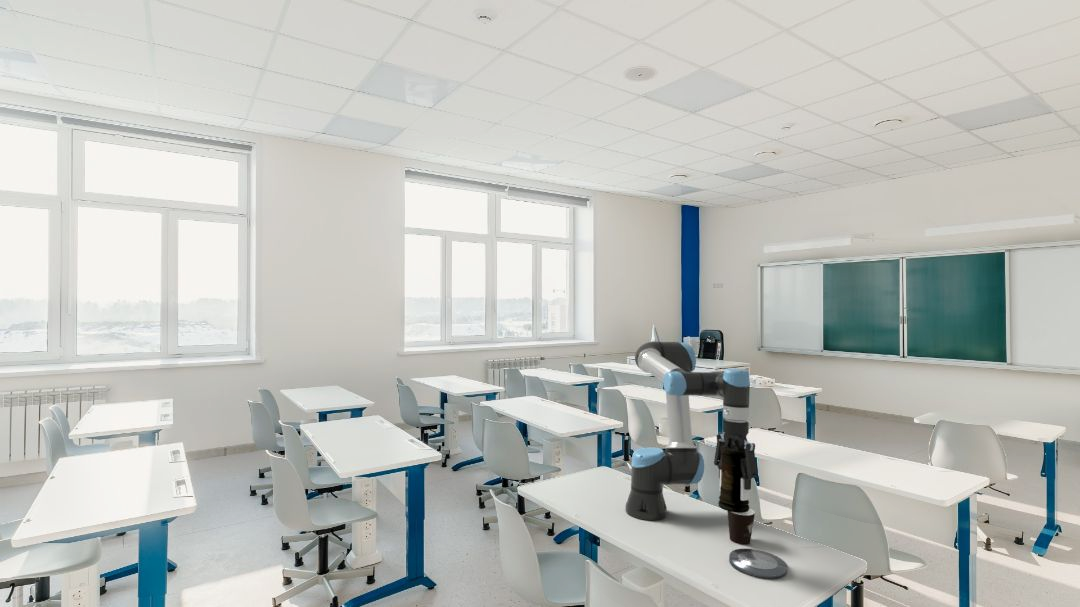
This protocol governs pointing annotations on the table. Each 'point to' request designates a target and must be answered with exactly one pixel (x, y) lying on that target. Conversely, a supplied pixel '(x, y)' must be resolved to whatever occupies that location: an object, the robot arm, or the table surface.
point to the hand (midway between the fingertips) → (734, 495)
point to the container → (732, 481)
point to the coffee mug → (741, 526)
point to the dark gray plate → (758, 563)
